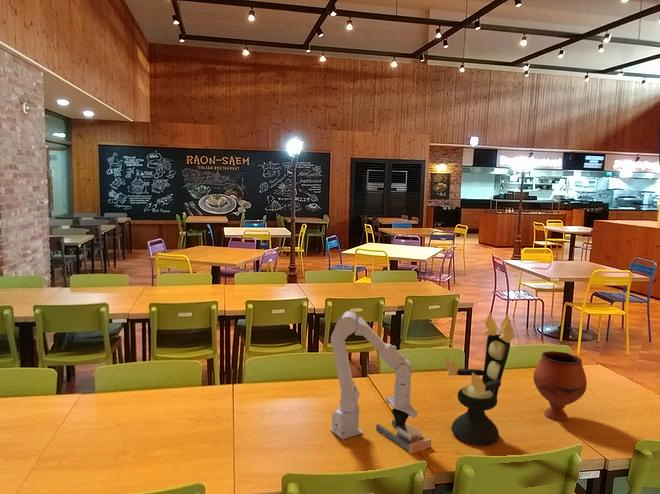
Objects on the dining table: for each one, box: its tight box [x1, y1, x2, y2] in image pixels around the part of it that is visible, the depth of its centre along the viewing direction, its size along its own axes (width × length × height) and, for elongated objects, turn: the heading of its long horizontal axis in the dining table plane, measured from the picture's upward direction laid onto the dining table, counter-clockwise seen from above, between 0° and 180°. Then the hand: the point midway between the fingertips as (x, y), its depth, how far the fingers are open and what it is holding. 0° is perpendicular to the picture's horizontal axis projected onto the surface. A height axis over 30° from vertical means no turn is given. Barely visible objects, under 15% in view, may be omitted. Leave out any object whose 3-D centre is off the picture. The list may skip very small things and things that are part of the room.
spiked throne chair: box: [444, 312, 515, 446], centre depth 186 cm, size 19×22×45 cm
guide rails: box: [375, 418, 432, 454], centre depth 183 cm, size 9×20×3 cm, turn 33°
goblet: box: [533, 350, 588, 422], centre depth 203 cm, size 19×19×25 cm
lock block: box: [396, 423, 423, 444], centre depth 180 cm, size 5×7×5 cm
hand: (400, 429), depth 184 cm, fingers closed
